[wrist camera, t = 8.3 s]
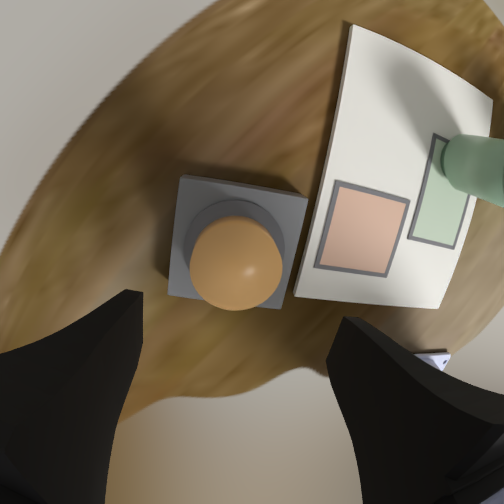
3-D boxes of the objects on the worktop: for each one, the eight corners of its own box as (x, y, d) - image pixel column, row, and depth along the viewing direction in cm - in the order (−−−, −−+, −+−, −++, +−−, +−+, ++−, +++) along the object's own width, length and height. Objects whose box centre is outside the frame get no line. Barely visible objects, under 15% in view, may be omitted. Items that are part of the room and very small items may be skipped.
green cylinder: (467, 194, 18) (535, 222, 12) (429, 181, 17) (503, 208, 11) (476, 142, 17) (547, 157, 10) (439, 124, 16) (516, 132, 10)
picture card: (434, 305, 22) (438, 309, 21) (292, 291, 20) (295, 297, 20) (488, 100, 16) (494, 100, 15) (349, 27, 14) (354, 23, 13)
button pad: (276, 296, 20) (281, 312, 18) (171, 282, 19) (166, 297, 17) (301, 193, 18) (309, 200, 16) (184, 174, 17) (179, 178, 15)
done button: (267, 297, 17) (271, 315, 15) (189, 287, 16) (185, 304, 15) (284, 223, 16) (291, 233, 14) (198, 209, 15) (195, 218, 13)
